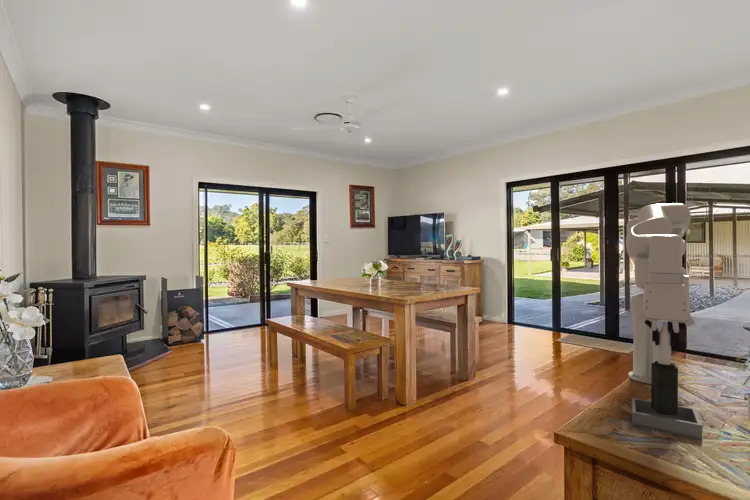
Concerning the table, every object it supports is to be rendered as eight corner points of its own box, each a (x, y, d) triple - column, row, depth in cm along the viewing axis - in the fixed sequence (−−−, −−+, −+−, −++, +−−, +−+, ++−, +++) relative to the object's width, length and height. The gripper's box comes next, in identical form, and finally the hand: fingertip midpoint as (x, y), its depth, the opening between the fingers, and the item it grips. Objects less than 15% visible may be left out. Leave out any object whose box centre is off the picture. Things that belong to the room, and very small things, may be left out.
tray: (631, 410, 120) (631, 397, 119) (695, 422, 111) (695, 408, 111) (632, 425, 109) (632, 412, 109) (702, 440, 101) (702, 425, 101)
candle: (679, 415, 107) (680, 324, 107) (658, 414, 108) (659, 323, 108) (669, 407, 112) (670, 320, 112) (649, 406, 113) (650, 319, 113)
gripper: (700, 279, 108) (700, 346, 109) (629, 277, 117) (629, 338, 118) (705, 281, 102) (704, 352, 102) (630, 279, 111) (629, 344, 111)
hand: (664, 344), depth 110 cm, fingers closed on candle, 3 cm apart
